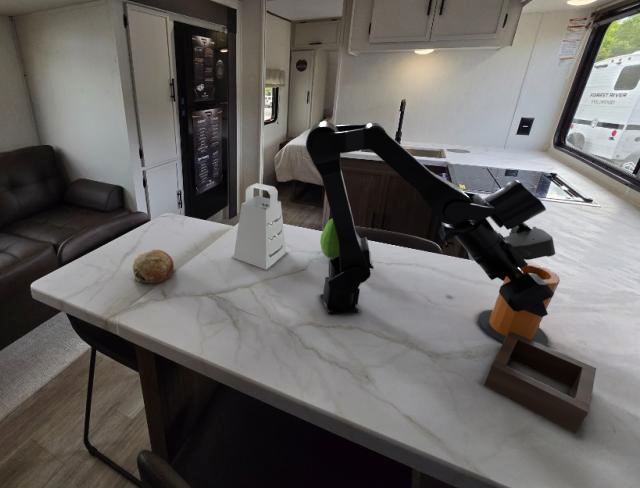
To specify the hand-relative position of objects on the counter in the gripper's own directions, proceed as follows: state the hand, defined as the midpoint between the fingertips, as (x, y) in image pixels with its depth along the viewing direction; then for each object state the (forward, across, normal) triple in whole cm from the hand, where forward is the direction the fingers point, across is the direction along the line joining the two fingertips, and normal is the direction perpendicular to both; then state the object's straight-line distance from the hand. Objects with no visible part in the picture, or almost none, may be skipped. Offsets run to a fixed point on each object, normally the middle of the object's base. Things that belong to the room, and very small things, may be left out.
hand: (531, 300), depth 64 cm
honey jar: (+4, 0, +6) cm, 7 cm away
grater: (-34, +17, +44) cm, 58 cm away
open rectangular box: (+2, -14, +8) cm, 16 cm away
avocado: (-24, +20, +26) cm, 41 cm away
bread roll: (-51, +2, +62) cm, 80 cm away
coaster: (+4, 0, +6) cm, 7 cm away
